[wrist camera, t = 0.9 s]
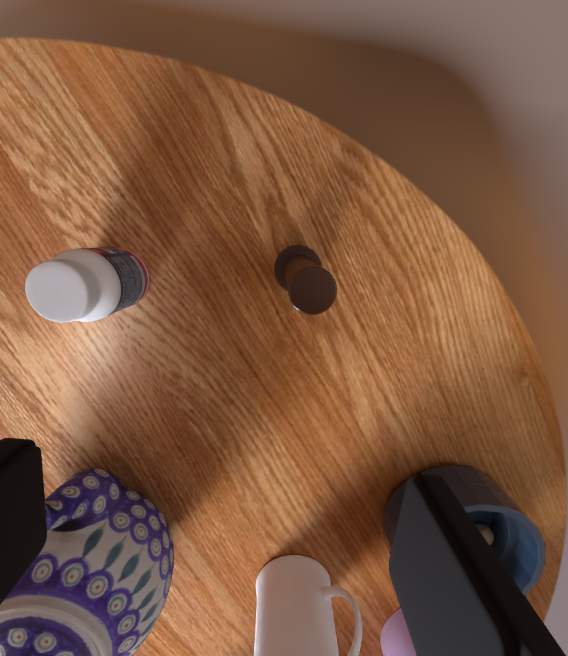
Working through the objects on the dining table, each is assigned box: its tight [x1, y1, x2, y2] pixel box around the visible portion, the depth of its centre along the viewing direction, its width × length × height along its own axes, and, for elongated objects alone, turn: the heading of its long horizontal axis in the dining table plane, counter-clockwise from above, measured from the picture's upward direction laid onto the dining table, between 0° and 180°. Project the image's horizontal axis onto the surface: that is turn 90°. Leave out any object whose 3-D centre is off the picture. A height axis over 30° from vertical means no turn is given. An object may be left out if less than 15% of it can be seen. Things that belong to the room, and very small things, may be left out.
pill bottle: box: [25, 247, 149, 323], centre depth 26 cm, size 5×5×9 cm
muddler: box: [274, 245, 337, 315], centre depth 23 cm, size 4×4×14 cm
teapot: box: [0, 468, 174, 656], centre depth 29 cm, size 25×15×15 cm, turn 173°
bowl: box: [382, 465, 545, 596], centre depth 34 cm, size 13×13×6 cm
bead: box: [476, 524, 494, 545], centre depth 36 cm, size 2×2×2 cm
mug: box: [254, 555, 362, 656], centre depth 33 cm, size 12×8×12 cm
